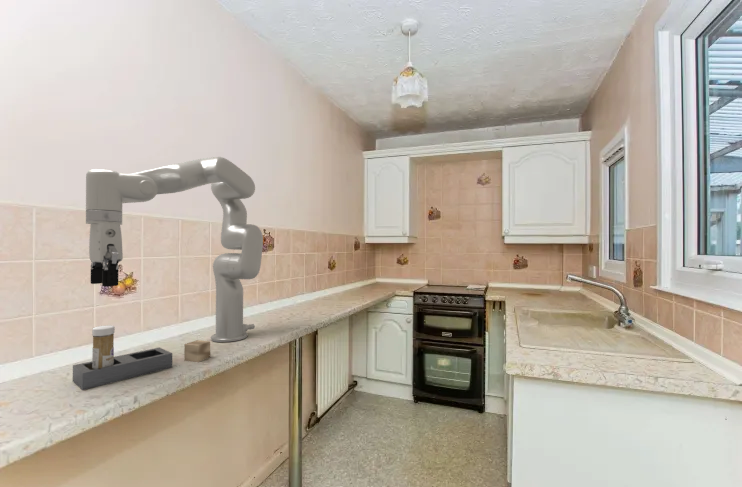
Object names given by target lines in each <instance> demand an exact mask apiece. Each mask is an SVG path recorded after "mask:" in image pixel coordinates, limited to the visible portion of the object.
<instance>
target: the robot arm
mask: <svg viewBox="0 0 742 487" xmlns="http://www.w3.org/2000/svg"><path fill="white" fill-rule="evenodd" d="M210 184H211V185H210ZM206 185H210V190H211V192H212V194H213V196H214V197H215V198H216V200H217V201H218V202H219V204H220V206H221V209H222V214H223V215H222V224H221V233H220V244H221V247H223V248H224V249H226V250H232V251H236V250H238V251H241V253H239V252H238V253H237V252H226V253H221V254H218V256H217V257H216V258H214V260H213V263H212V264H213V265H212V269H213V270H212V271H213V277H214V279H215V280H214V282H215V333H214V334H212V335H211V336H210V340H211V341H213V342H215V343H229V342H237V341H241V340H245V339H247V337H248V332H247V331H248V330H254V329H255V327H256V326H255V324H254V323H250V324H247V323H246V324H245V323H244V287H243V284H242V282H241V280H253V279H255V278H257V277H258V275H259V273H260V269H261V265H262V256H263V248H264V247H263V245H264V244H263V243H264V237H263V232H262V230H261V229H260V227H258V225H256V224H249V223H248V222H247V219H248V211H247V208H246V207H245V205H244V203H243V201H242V200H246V199H249V198H251V197H252V196H253V195H254V194H255V192H256V185H255V181H254V179H253V178H252V177H251V176H250V175H249V174H247V173H246V172H245V171H243V169H241V168H240V167H239V166H237V165H236V164H235V163H233V162H232V161H231V160H229V159H227V158H225V157H221V156H215V157H213V156H212V157H207V158H200V159H195V160H194V159H193V160H189V161H183V162H180V163H174V164H169V165H164V166H160V167H157V168H153V169H148V170H143V171H138V172H133V173H123V172H122V173H120V172H117V171H115V170H110V169H100V168H98V169H97V168H95V169H93V168H92V169H90V170H88V171H87V172H86V175H85V224H87V225H89V226H90V228H89V240H88V241H89V242H88V243H89V246H88V249H89V250H88V254H89V255H88V256H89V260H90V263H91V264H90V284H92V285H97V284H98V285H99V284H101V285H102V287H115V286H116V287H117V286H119V268H120V267H119V263H120V262H122V261H123V259H124V258H123V255H124V254H123V237H122V228H121V226H122V225H123V204H131V203H133V204H134V203H144V202H149V201H151V200H153V199H154V198H155V197H156V196H158V195H166V194H167V195H168V194H175V193H180V192H181V193H182V192H184V191H187V190H188V191H189V190H191V189H194V188H197V187H202V186H206Z"/></svg>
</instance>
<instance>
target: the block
mask: <svg viewBox="0 0 742 487" xmlns="http://www.w3.org/2000/svg"><path fill="white" fill-rule="evenodd" d="M183 348H184V349H183V350H184V352H183V353H184V354H183V355H184V356H183V357H184V358H183V360H184V362H192V363H199V362H202V361H206V360H207V359H209V358H211V341H210V340H200V339H197V340H194V341H190V342H188V343H185V344H184V346H183Z"/></svg>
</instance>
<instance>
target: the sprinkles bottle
mask: <svg viewBox="0 0 742 487" xmlns="http://www.w3.org/2000/svg"><path fill="white" fill-rule="evenodd" d="M115 329H116V328H115V326H114V325H111V324H110V325H108V324H107V325H98V326H95V327H93V328H92V331H91V333H92V334H91V335H92V360H91V361H92V368H93V369H98V368H102V367H107V366H111V365H113V364H114V357H115V356H114V354H115V353H114V352H115V351H114V350H115V348H114V335H115V332H116V331H115Z"/></svg>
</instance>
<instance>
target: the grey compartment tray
mask: <svg viewBox="0 0 742 487" xmlns="http://www.w3.org/2000/svg"><path fill="white" fill-rule="evenodd" d="M171 368H173V352H170V351H169V350H166V349H163V348H162V347H155V348H150V349H145V350H140V351H136V352H131V353H126V354H122V355H115V356H114V364H113V365H111V366H107V367H102V368H98V369H93V368H92V360H91V361H88V362H82V363H77V364H72V382H73V383H74V384H75V385H76V386H77V387H79V389H80V390H81V391H85V390H88V389H92V388H96V387H100V386H104V385H109V384H113V383H117V382H120V381H124V380H129V379H131V378H132V379H133V378H136V377H139V376H144V375H147V374H148V375H149V374H152V373H156V372H160V371H163V370H167V369H171Z"/></svg>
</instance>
